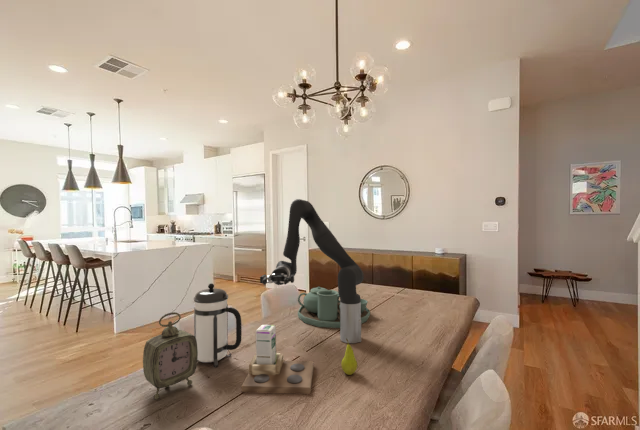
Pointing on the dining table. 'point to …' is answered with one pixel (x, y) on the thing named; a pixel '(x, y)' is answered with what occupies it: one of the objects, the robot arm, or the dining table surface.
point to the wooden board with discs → (279, 377)
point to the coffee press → (213, 325)
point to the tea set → (325, 308)
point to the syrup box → (266, 345)
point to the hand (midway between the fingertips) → (274, 282)
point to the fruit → (349, 361)
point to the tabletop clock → (170, 356)
